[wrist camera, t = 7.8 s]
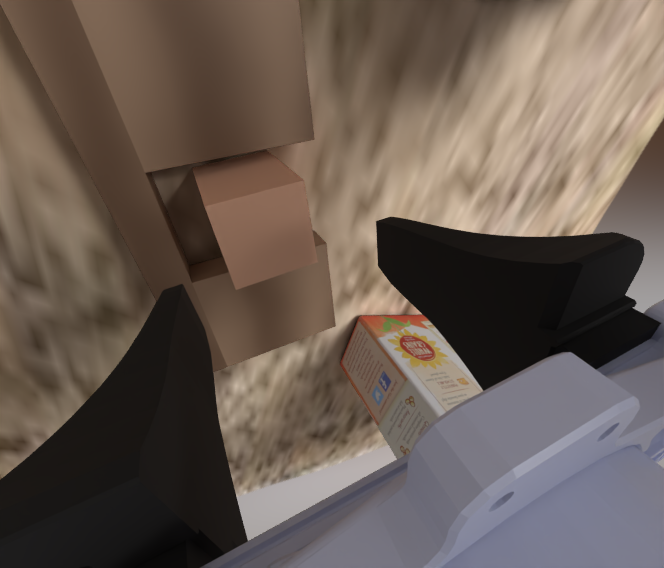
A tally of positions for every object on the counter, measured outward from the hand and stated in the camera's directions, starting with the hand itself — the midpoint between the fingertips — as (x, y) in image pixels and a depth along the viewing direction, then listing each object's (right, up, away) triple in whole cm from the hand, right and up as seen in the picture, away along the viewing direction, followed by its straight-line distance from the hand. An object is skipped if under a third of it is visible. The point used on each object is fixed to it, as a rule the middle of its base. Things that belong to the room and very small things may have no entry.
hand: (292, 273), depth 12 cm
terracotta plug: (-4, +5, +7) cm, 9 cm away
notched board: (-5, +4, +7) cm, 9 cm away
